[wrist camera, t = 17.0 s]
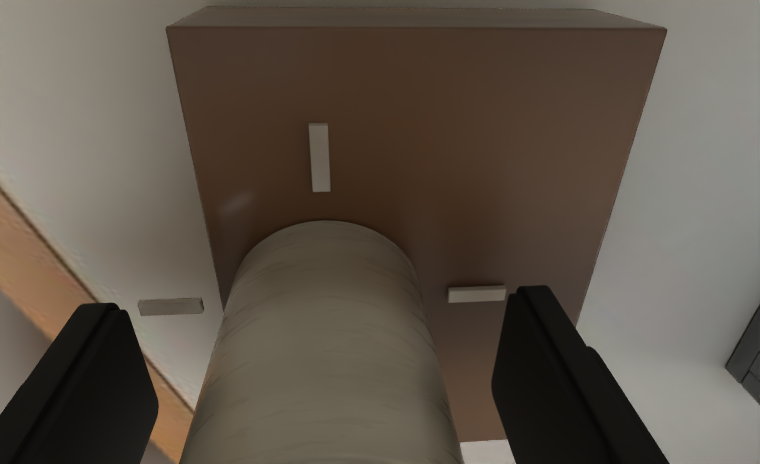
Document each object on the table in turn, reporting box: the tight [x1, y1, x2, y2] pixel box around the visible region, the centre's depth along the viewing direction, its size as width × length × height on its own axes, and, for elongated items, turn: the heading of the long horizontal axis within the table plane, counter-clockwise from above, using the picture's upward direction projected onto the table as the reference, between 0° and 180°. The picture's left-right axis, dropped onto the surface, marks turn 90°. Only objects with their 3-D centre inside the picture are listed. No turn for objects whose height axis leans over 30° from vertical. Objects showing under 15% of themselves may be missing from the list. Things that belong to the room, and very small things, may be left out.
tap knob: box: [179, 220, 464, 464], centre depth 9 cm, size 4×4×6 cm
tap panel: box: [137, 6, 667, 442], centre depth 13 cm, size 12×11×3 cm
